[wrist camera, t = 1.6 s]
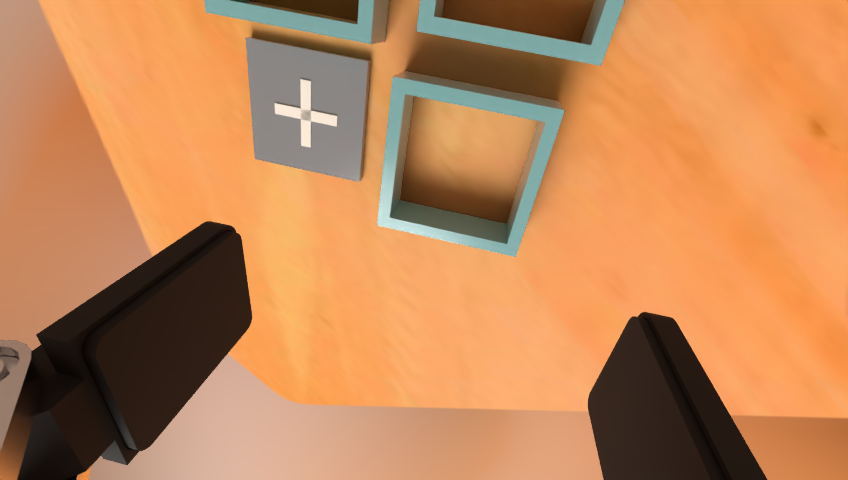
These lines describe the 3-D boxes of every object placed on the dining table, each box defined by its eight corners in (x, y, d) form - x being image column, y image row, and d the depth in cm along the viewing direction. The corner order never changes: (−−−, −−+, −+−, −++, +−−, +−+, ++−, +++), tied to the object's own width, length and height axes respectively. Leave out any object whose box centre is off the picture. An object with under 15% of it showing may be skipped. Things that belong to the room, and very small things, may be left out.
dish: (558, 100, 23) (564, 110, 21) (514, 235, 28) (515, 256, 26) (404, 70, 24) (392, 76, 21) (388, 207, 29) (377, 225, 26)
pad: (371, 60, 24) (367, 61, 23) (362, 179, 28) (358, 182, 27) (251, 37, 25) (244, 37, 24) (259, 156, 29) (254, 159, 28)
